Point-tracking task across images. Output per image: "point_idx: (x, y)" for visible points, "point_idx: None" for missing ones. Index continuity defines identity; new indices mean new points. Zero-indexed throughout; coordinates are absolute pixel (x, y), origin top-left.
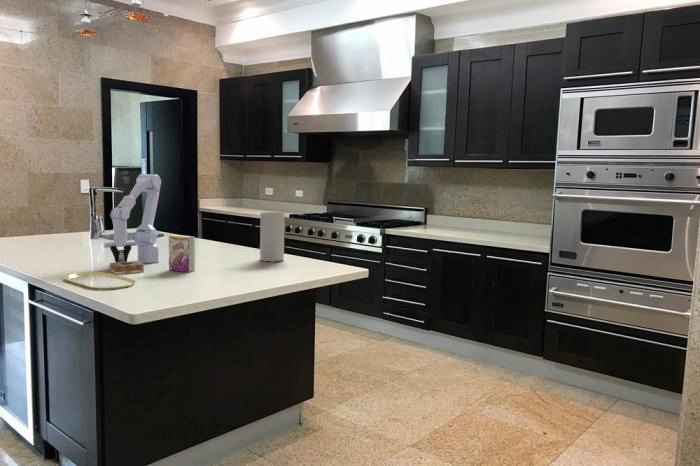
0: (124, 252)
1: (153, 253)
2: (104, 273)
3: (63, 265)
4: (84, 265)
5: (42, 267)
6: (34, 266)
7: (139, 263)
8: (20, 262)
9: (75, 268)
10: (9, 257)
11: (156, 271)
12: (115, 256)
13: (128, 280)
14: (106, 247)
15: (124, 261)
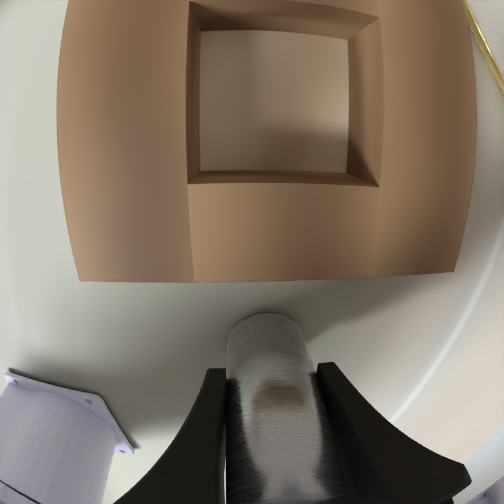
0: (237, 478)
1: (6, 428)
2: (492, 58)
3: (451, 428)
4: (408, 430)
5: (501, 399)
6: (496, 413)
7: (88, 32)
8: (468, 451)
9: (476, 374)
10: None
11: (23, 16)
12: (375, 410)
13: None
14: (501, 480)
15: (238, 368)
